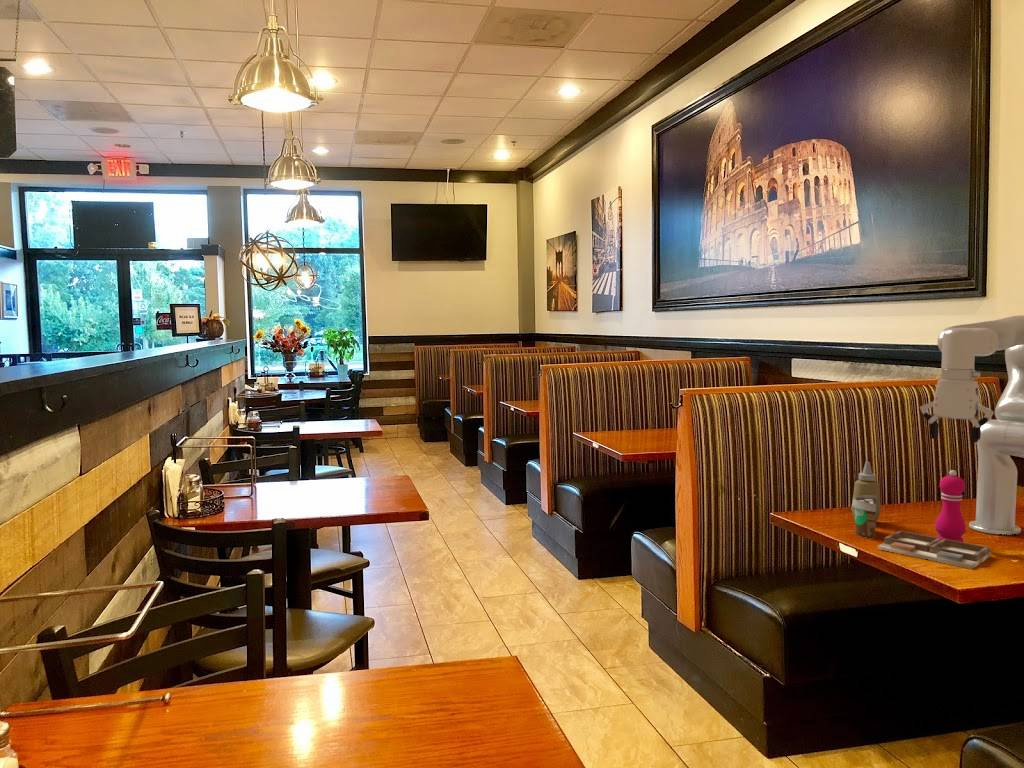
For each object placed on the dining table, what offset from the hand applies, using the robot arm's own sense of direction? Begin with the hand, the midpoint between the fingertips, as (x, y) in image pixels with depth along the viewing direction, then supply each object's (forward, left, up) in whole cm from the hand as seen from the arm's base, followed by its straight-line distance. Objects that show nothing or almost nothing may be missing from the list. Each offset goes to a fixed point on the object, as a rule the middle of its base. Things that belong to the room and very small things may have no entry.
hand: (954, 440), depth 205 cm
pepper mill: (0, 0, -28) cm, 28 cm away
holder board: (+12, 0, -28) cm, 31 cm away
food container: (+7, -20, -28) cm, 35 cm away
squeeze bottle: (-7, -25, -28) cm, 38 cm away
